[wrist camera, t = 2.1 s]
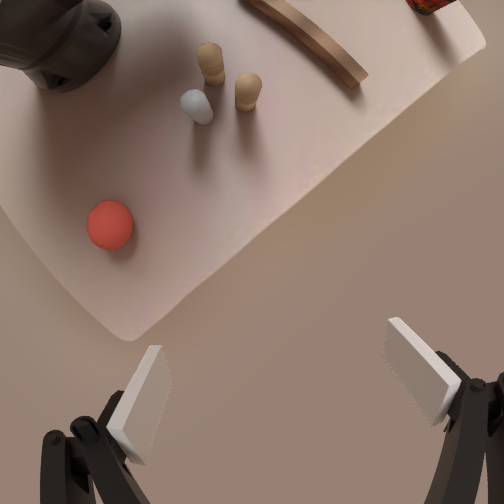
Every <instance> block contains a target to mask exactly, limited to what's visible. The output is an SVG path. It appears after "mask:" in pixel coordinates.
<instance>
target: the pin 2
mask: <svg viewBox="0 0 504 504" xmlns="http://www.w3.org/2000/svg"><path fill="white" fill-rule="evenodd" d="M261 88H262V81H261V79H260V78H259V76H257V75H256V74H254V73H243V74H241V75H240V76H238V78H237V79H236V81H235V105H236V107H237V108H238V109H239V110H240V111H243V112H248V111H251V110H252V109H253V108H254V107H255V104H256V101H257V99H258V96H259V93H260V91H261Z"/></svg>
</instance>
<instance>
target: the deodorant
mask: <svg viewBox="0 0 504 504" xmlns="http://www.w3.org/2000/svg"><path fill="white" fill-rule="evenodd" d="M406 1H407V3H408V4H409V5H410V6H411V7H412V8H413V9H414V10H416V11H417V12H419V13H420V14H423V15H429V14H431V13H433V12H435V11H437V10H439V9H440V8H442V7H444V6H446V5H448V4H450V3H452V2H454V1H456V0H406Z"/></svg>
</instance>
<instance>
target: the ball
mask: <svg viewBox="0 0 504 504" xmlns="http://www.w3.org/2000/svg"><path fill="white" fill-rule="evenodd" d="M132 229H133V219H132V216H131V213H130V211H129V210H128V208H127V207H126V206H125V205H123V204H122V203H120V202H118V201H115V200H107V201H103V202H101V203H99V204H97V205H96V206H95V207H94V208H93V209H92V210H91V212H90V214H89V216H88V219H87V232H88V235H89V237H90V239H91V240H92V242H93V243H94V244H95V245H96V246H98V247H100V248H103V249H107V250H111V249H116V248H119V247H120V246H122V245H123V244H125V243H126V242H127V240H128V239H129V237H130V235H131V233H132Z"/></svg>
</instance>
